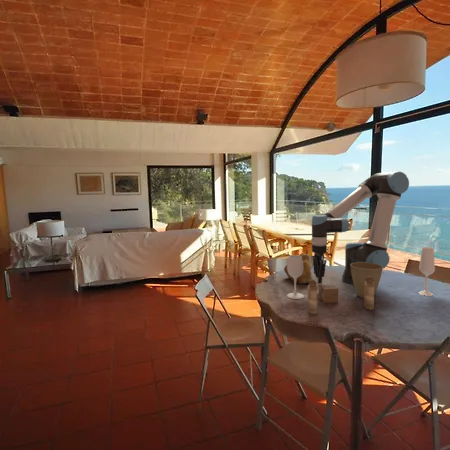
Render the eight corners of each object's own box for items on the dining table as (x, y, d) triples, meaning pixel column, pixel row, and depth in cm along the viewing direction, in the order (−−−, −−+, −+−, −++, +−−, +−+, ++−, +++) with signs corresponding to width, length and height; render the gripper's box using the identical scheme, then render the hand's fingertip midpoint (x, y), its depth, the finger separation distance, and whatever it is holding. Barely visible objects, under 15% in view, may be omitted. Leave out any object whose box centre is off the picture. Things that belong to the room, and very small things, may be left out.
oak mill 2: (362, 306, 139) (363, 275, 137) (370, 306, 139) (371, 274, 138) (367, 309, 135) (368, 277, 133) (375, 309, 135) (376, 277, 134)
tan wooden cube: (318, 298, 152) (318, 284, 151) (331, 297, 152) (331, 284, 152) (324, 303, 145) (324, 289, 144) (338, 302, 145) (338, 288, 145)
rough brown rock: (286, 274, 199) (284, 252, 197) (312, 274, 193) (310, 251, 192) (282, 286, 177) (280, 262, 175) (311, 286, 171) (309, 260, 170)
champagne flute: (418, 291, 158) (420, 246, 155) (433, 293, 154) (436, 247, 151) (417, 294, 152) (419, 248, 150) (433, 297, 149) (435, 249, 146)
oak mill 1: (306, 310, 136) (306, 278, 134) (314, 310, 136) (315, 278, 135) (310, 314, 132) (310, 281, 130) (318, 313, 132) (318, 280, 131)
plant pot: (360, 302, 144) (361, 269, 143) (344, 292, 159) (344, 263, 157) (388, 299, 147) (389, 268, 145) (369, 290, 161) (370, 261, 159)
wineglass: (294, 300, 149) (294, 259, 147) (283, 295, 157) (283, 256, 155) (307, 297, 153) (307, 257, 151) (296, 292, 161) (296, 254, 158)
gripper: (307, 243, 162) (307, 285, 165) (317, 247, 149) (317, 292, 152) (320, 242, 163) (320, 284, 165) (331, 246, 150) (331, 292, 152)
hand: (318, 288), depth 159 cm, fingers closed
